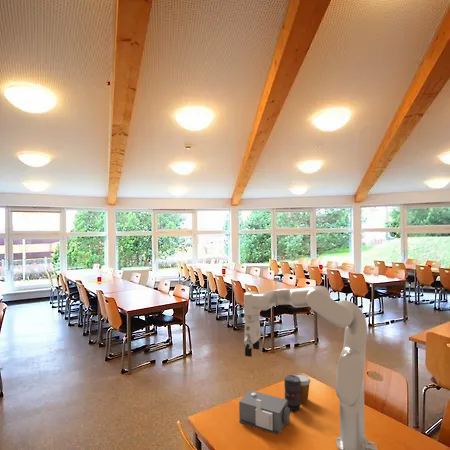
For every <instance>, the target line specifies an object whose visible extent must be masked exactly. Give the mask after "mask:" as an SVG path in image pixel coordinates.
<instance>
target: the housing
mask: <svg viewBox="0 0 450 450" xmlns="http://www.w3.org/2000/svg"><path fill="white" fill-rule="evenodd" d="M257 399H259V400H261V410H264V411H267V412H270V413H273V430H269V429H266V428H262V427H259V426H256V412H255V409H256V400H257ZM238 403H239V404H238V405H239V407H238V408H239V414H238V415H239V419H238V420H239V423H241V424H244V425H246V426H249V427H253V428H256V429H258V430H262V431H265V432H268V433H271V434H274V435H276V436H277V435H278V436H279V434H281V432H282V431H283V429H284V426H285V425H288V424H289V422H290V419H291V418H290V417H291V411H290V408H289V407H288V400H286V399H285V398H282V397H278V396H273V395H271V394H266V393H264V392H263V393H262V392H258V391H255V390H251V389H249V390H248V391H247V392H246V393H245V395H244V396H243V397H242V398H241V399H240V400H239V402H238Z"/></svg>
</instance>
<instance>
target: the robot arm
mask: <svg viewBox="0 0 450 450" xmlns="http://www.w3.org/2000/svg"><path fill="white" fill-rule="evenodd" d="M278 305H279V306H282V305H290V306H292V307H293V308H297V309H298V308H305V307H307V308H308V307H309V308H310V309H312V310H313V311H315V312H316V313H317V314H318V315H320V316H321V317H322V318H324V319H326V320H327V321H328V322H330V323H331V324H333V325H334V326H336V327H338V328H344V333H343V336H344V337H343V338H344V339H343V345H342V346H343V347H342V349H341V353H340V355H339V358H338V361H337V369H336V381H335V392H336V393H335V394H336V396H337V398H338V399H339V435H338V437H337V438H336V441H335V442H336V444H335V445H336V447H337V448H338V450H378V446H377V445H375V442H374V441H370V440H368V439H367V435H366V434H365V433H366V432H365V380H364V374H365V367H366V359H367V358H366V352H367V337H368V326H367V320H366V317H365V315H364V312H363V311H362V310H361V308H360V307H359V306H357V305H356V303H354V302H352V301H349V300H346V299H344V300H340V301H339V302H337V301H336V300H334V299H333V298H331V292H330V290H329V288H327V287H326V286H324V285H314V286H305V287H304V286H303V287H295V288H281V289H271V290H267V291H265V292H263V293H259V292H257V291H253V290H252V291H251V290H250V291H246V292H244V293H243V319H244V320H243V321H244V330H243V331H244V336H243V337H244V340H243V345H244V356H245V357H248V358H251V357H252V355H253V354H252V352H253V351H252V349H253V350H260V339H261V323H260V321H261V320H260V311H267V310H269V309H271V308H272V307H274V306H278Z"/></svg>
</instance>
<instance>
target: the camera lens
mask: <svg viewBox="0 0 450 450" xmlns="http://www.w3.org/2000/svg"><path fill="white" fill-rule="evenodd" d="M294 375H295V374H288V375H285V376H284V379H283V380H284V381H283V382H284V385H283V386H284V399H286V400H288V407H289V408H290V412H298V411H300V407H301V403H300V402H301V398H300V390H301V381H300V378H299V377H297V376H294Z"/></svg>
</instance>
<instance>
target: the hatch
mask: <svg viewBox="0 0 450 450" xmlns="http://www.w3.org/2000/svg"><path fill="white" fill-rule="evenodd" d="M255 412H256V426H259V427H262V428H266V429H269V430H273V413H270V412H267V411H264V410H261V400H259V399H257V400H256V409H255Z"/></svg>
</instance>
